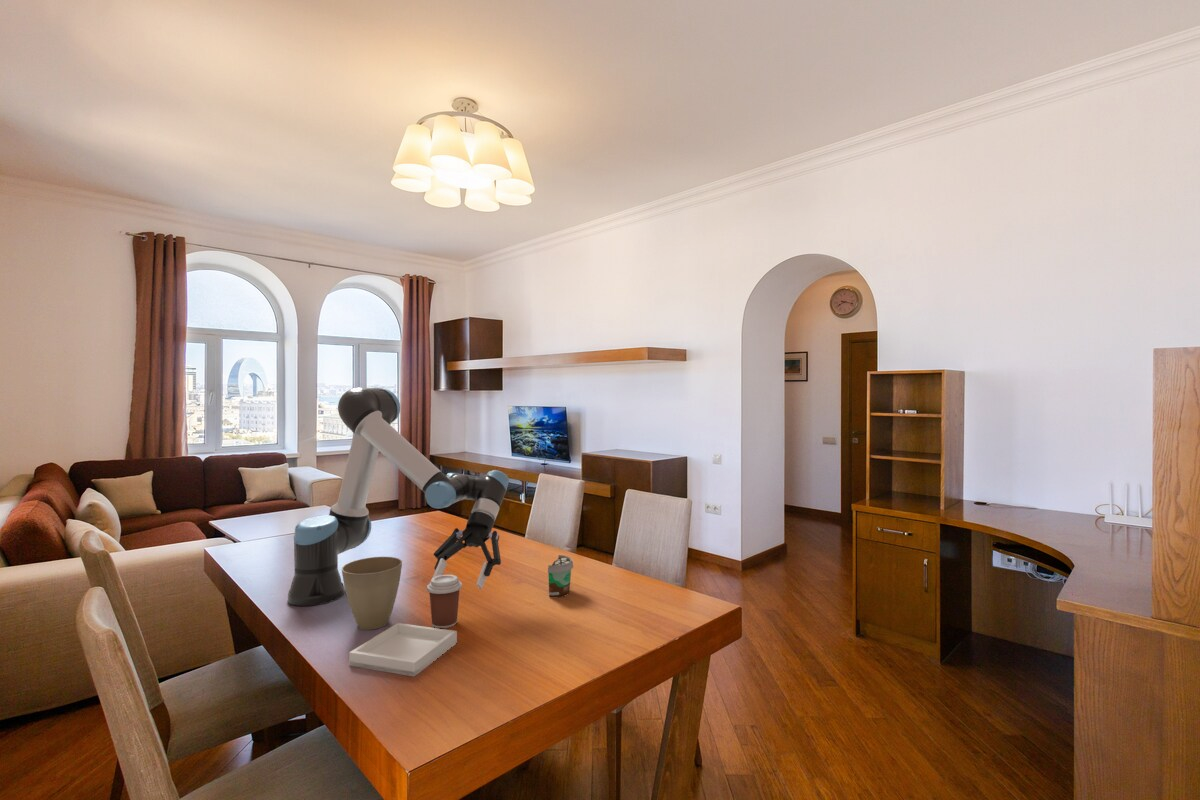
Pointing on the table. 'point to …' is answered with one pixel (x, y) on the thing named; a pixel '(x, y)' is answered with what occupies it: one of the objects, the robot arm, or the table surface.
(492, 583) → the table surface
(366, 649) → the tray
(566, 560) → the food container
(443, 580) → the coffee cup
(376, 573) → the plant pot
